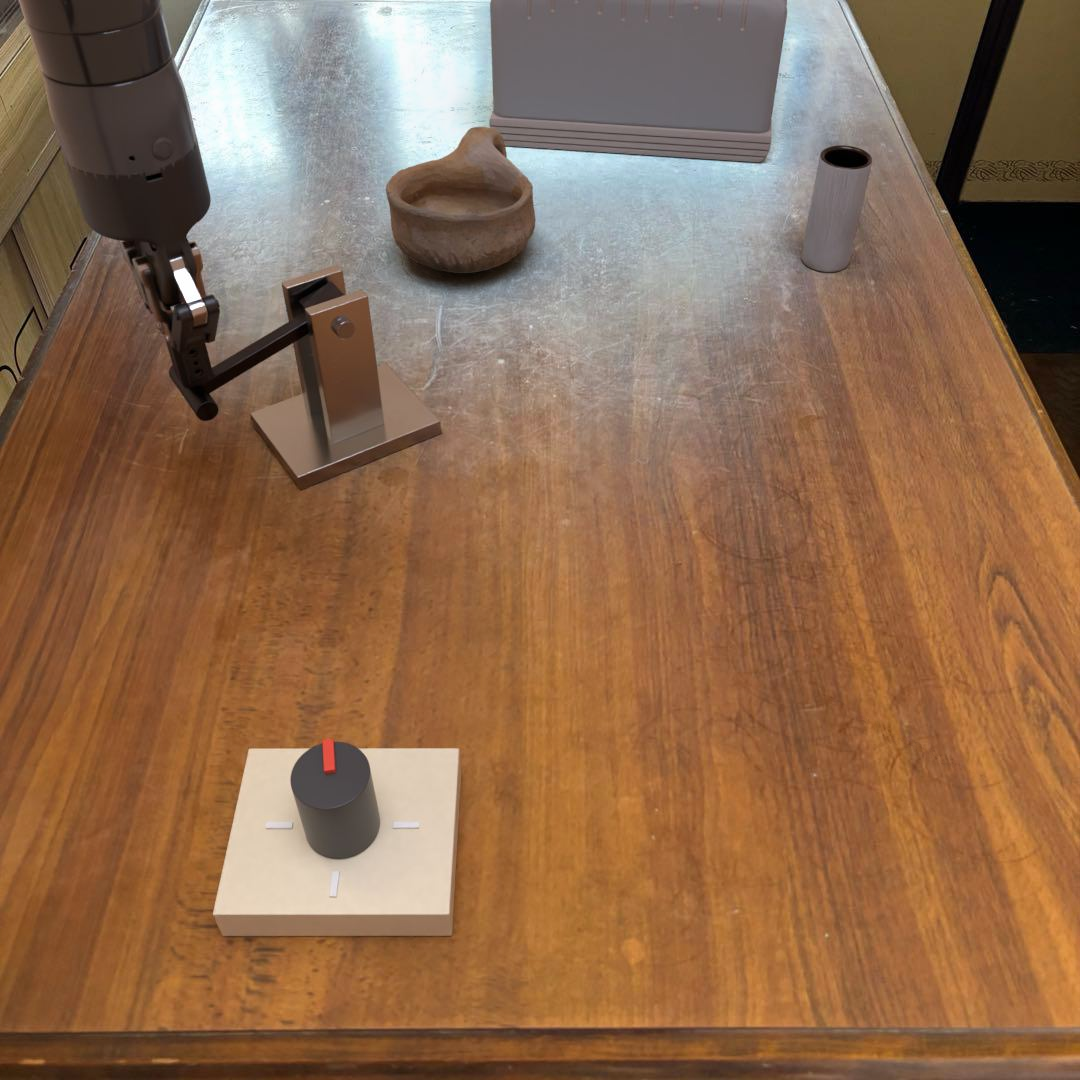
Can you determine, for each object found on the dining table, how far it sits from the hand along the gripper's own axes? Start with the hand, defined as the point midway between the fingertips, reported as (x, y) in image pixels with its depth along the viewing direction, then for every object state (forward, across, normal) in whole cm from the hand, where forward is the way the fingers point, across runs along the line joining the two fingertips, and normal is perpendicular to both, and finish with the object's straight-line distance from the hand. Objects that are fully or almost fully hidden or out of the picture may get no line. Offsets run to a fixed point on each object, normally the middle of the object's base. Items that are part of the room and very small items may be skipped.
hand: (196, 379), depth 76 cm
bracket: (+9, 0, +10) cm, 14 cm away
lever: (+1, 0, +6) cm, 6 cm away
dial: (+6, +33, -6) cm, 34 cm away
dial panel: (+9, +33, -6) cm, 35 cm away
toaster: (+9, -39, +68) cm, 79 cm away
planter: (+9, +2, +59) cm, 60 cm away
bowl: (+9, -19, +32) cm, 39 cm away
